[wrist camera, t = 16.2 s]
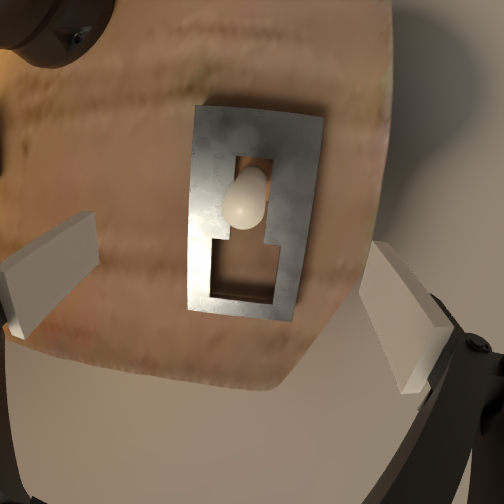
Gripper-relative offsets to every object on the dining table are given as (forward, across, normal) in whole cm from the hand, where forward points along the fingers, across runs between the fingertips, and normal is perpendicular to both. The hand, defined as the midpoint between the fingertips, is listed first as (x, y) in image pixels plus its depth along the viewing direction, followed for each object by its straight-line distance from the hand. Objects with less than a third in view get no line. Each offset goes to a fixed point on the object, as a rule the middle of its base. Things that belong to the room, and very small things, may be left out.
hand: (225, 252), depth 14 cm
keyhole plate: (+22, 0, -5) cm, 23 cm away
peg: (+22, 0, 0) cm, 22 cm away
